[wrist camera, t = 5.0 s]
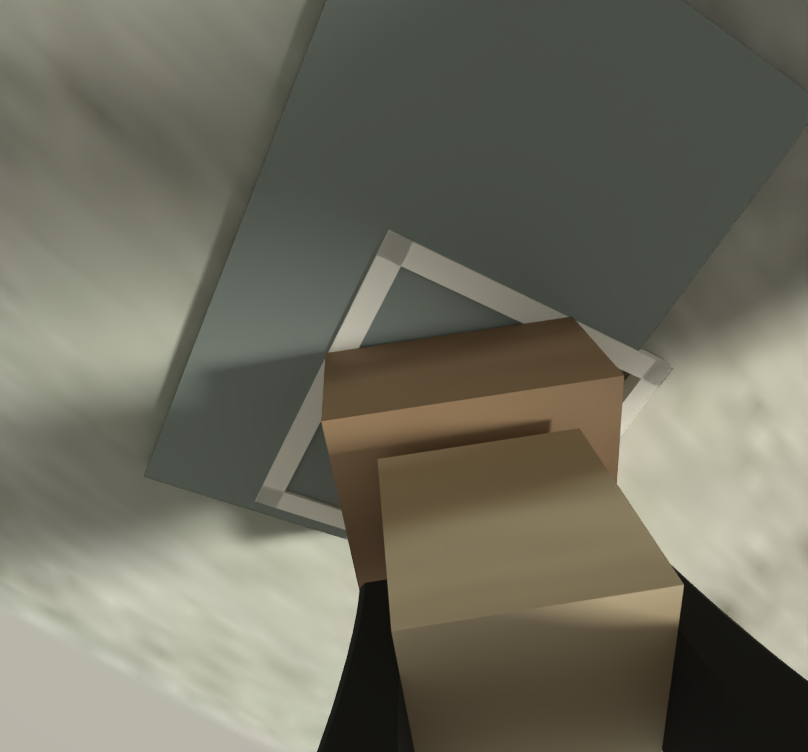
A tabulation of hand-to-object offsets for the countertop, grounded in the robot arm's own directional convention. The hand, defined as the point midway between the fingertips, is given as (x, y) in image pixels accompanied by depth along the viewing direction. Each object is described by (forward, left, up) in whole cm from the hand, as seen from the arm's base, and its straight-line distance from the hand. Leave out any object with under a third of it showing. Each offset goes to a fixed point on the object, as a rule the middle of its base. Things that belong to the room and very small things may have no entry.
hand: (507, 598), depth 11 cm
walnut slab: (0, 0, -5) cm, 5 cm away
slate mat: (-3, -2, -6) cm, 7 cm away
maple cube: (0, 0, -2) cm, 2 cm away
